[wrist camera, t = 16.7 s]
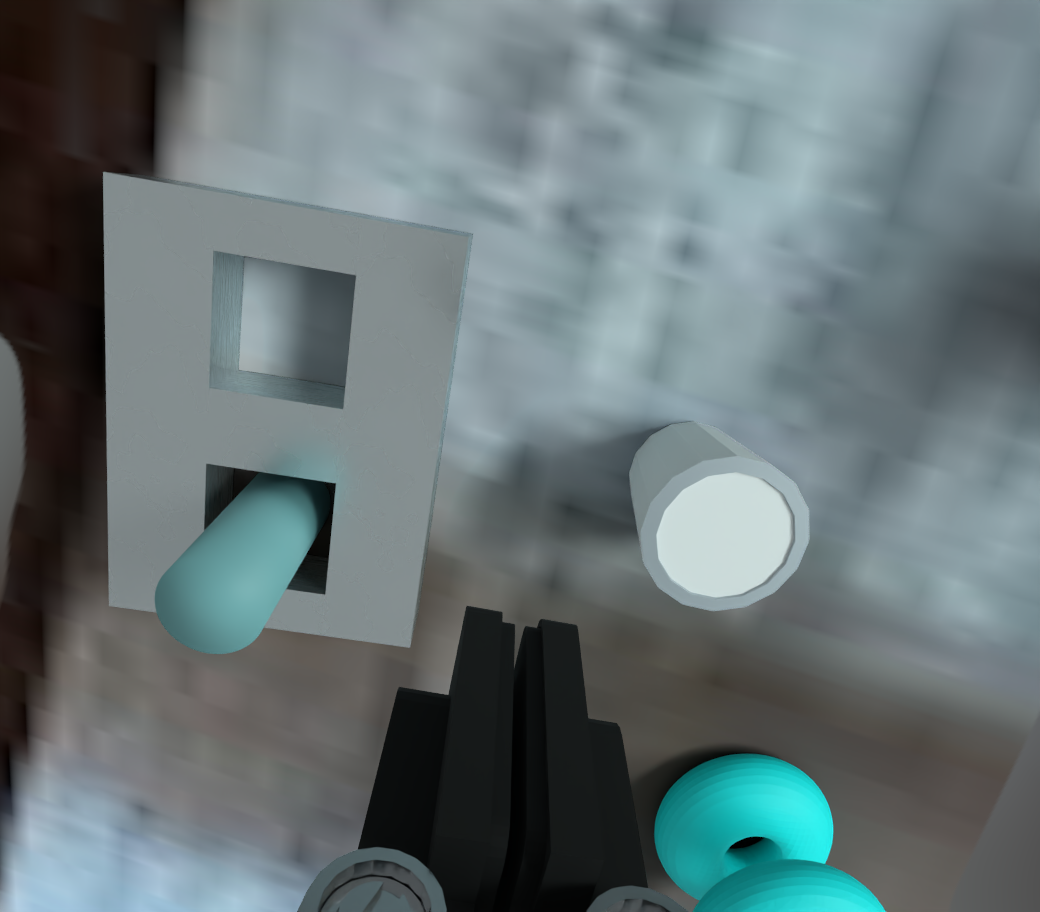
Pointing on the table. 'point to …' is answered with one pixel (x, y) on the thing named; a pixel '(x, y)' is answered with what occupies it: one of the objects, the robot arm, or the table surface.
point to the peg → (242, 564)
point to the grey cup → (715, 518)
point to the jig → (275, 394)
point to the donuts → (766, 864)
